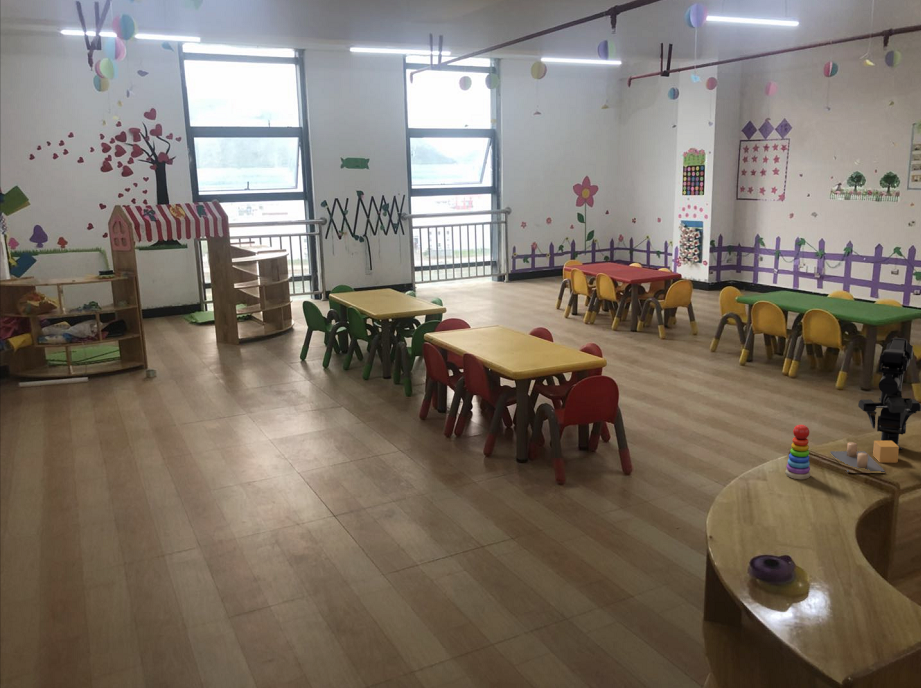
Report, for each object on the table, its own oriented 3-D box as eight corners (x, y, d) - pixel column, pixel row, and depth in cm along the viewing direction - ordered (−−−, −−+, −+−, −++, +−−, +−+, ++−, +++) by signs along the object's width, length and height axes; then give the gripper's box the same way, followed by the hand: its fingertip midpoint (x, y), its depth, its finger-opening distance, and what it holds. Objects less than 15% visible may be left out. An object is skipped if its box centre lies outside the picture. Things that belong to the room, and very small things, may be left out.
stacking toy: (786, 479, 254) (789, 428, 250) (783, 470, 262) (786, 420, 257) (811, 481, 252) (814, 429, 248) (808, 471, 259) (811, 421, 255)
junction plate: (830, 453, 273) (831, 439, 272) (864, 453, 271) (865, 439, 270) (847, 473, 256) (848, 458, 255) (884, 473, 254) (886, 458, 253)
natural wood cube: (872, 456, 269) (874, 440, 268) (890, 456, 268) (891, 440, 267) (879, 462, 263) (880, 446, 262) (897, 462, 263) (898, 446, 261)
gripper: (871, 393, 253) (867, 436, 257) (930, 392, 250) (926, 436, 254) (859, 384, 264) (856, 425, 267) (915, 383, 261) (912, 425, 264)
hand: (887, 428), depth 263 cm, fingers open, 9 cm apart
